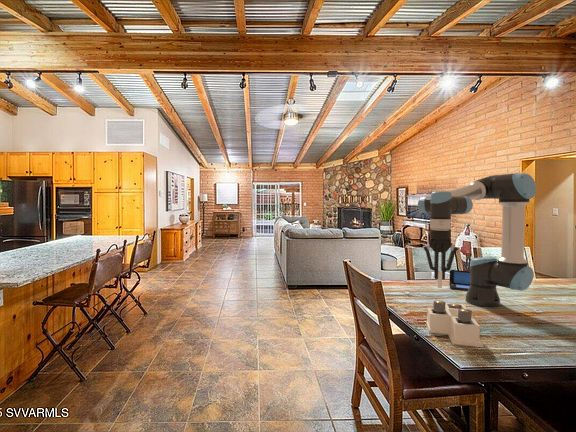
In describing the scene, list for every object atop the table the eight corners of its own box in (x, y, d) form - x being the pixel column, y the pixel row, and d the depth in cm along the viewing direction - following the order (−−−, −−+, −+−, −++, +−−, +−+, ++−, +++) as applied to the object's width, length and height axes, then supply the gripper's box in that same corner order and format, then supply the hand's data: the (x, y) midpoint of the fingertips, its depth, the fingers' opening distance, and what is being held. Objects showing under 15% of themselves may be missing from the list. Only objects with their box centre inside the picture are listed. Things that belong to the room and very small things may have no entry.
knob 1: (459, 317, 137) (459, 303, 136) (462, 321, 132) (462, 307, 132) (448, 316, 138) (448, 302, 138) (450, 320, 134) (450, 306, 133)
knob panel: (465, 320, 139) (465, 303, 138) (483, 347, 113) (483, 327, 112) (424, 316, 144) (424, 300, 143) (432, 341, 118) (432, 322, 118)
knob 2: (469, 324, 120) (470, 308, 120) (472, 329, 116) (473, 312, 116) (456, 323, 122) (457, 307, 121) (459, 327, 117) (459, 311, 117)
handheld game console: (449, 289, 186) (449, 274, 186) (449, 284, 198) (449, 269, 198) (480, 292, 180) (480, 276, 179) (478, 286, 192) (478, 271, 191)
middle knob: (444, 315, 131) (444, 300, 130) (446, 318, 126) (446, 303, 126) (432, 314, 132) (432, 299, 132) (434, 317, 128) (434, 302, 127)
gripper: (423, 230, 126) (423, 288, 127) (460, 230, 122) (459, 290, 123) (421, 228, 133) (421, 283, 134) (456, 229, 129) (455, 285, 130)
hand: (439, 287), depth 129 cm, fingers closed
